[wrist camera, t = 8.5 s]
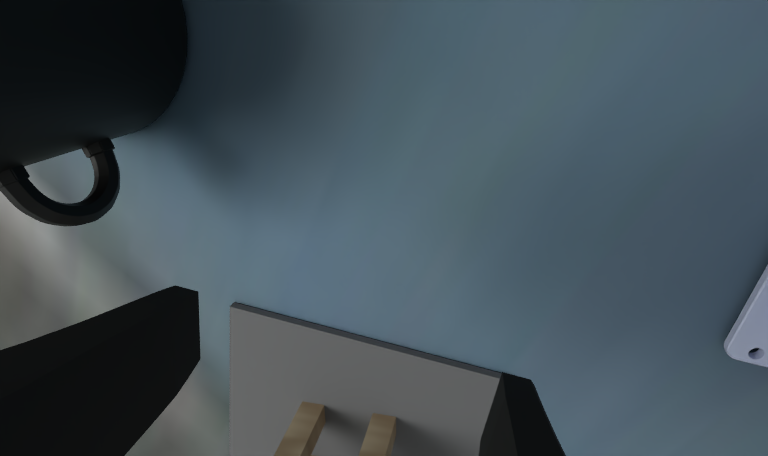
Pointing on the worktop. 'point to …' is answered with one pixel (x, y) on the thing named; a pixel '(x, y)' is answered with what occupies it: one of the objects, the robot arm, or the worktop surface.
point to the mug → (81, 90)
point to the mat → (348, 389)
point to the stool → (310, 423)
